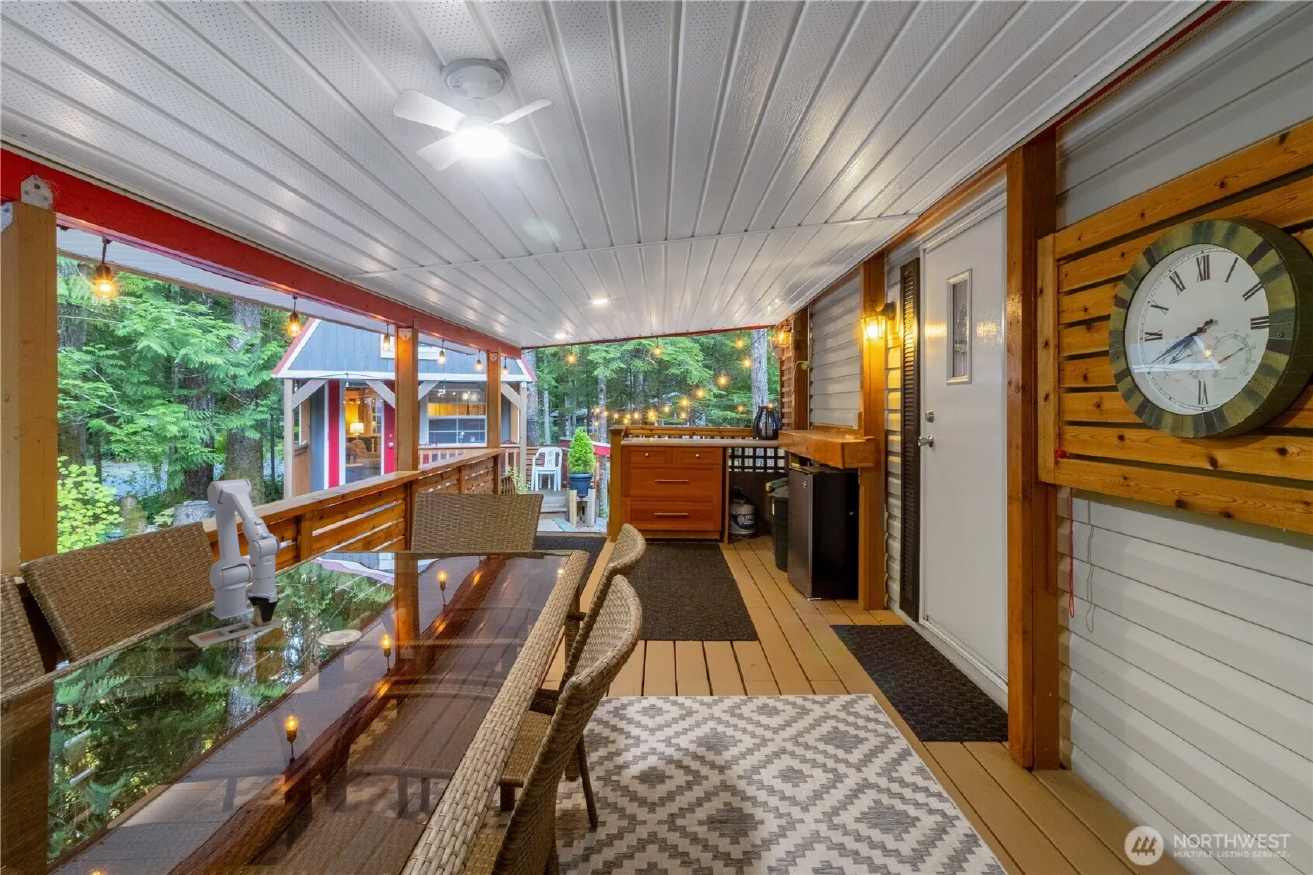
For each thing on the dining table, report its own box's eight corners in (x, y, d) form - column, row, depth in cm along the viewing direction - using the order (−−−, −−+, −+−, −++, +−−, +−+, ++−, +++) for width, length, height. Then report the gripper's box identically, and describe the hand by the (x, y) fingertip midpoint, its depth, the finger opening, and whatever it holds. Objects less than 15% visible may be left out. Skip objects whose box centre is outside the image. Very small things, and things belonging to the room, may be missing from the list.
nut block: (253, 625, 160) (253, 606, 160) (268, 621, 164) (268, 602, 163) (258, 628, 158) (258, 609, 158) (274, 624, 161) (274, 605, 161)
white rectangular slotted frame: (189, 639, 149) (189, 636, 149) (272, 617, 166) (272, 614, 166) (199, 647, 145) (199, 644, 144) (283, 624, 162) (283, 621, 162)
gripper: (239, 575, 161) (238, 617, 161) (258, 584, 153) (258, 629, 154) (265, 569, 167) (265, 611, 167) (285, 579, 159) (285, 622, 159)
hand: (263, 619), depth 161 cm, fingers closed on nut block, 4 cm apart
